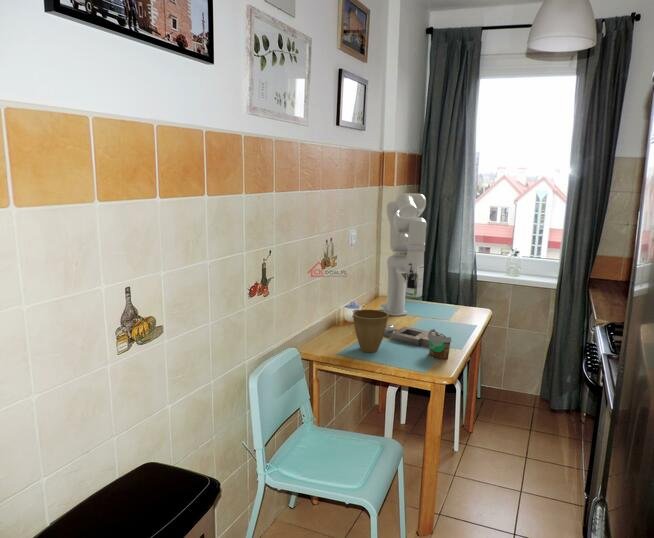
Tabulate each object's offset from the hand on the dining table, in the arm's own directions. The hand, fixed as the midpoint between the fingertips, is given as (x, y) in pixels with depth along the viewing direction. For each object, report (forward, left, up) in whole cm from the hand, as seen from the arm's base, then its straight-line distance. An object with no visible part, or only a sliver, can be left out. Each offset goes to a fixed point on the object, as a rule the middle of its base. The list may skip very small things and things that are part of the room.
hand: (414, 286), depth 233 cm
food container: (+18, -14, -25) cm, 34 cm away
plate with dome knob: (-4, 0, -25) cm, 25 cm away
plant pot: (-8, -24, -25) cm, 36 cm away
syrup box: (0, 0, -5) cm, 5 cm away
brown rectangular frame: (+4, 0, -25) cm, 25 cm away
